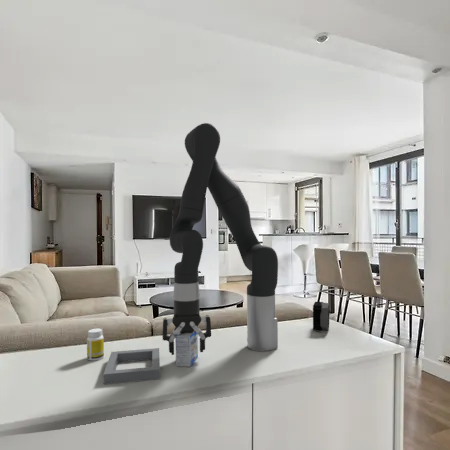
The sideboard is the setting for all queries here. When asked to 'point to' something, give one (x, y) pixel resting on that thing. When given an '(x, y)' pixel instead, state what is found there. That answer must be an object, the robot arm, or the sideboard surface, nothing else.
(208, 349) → the sideboard surface
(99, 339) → the supplement bottle
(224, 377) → the sideboard surface
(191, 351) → the medicine box
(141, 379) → the block
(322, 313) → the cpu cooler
